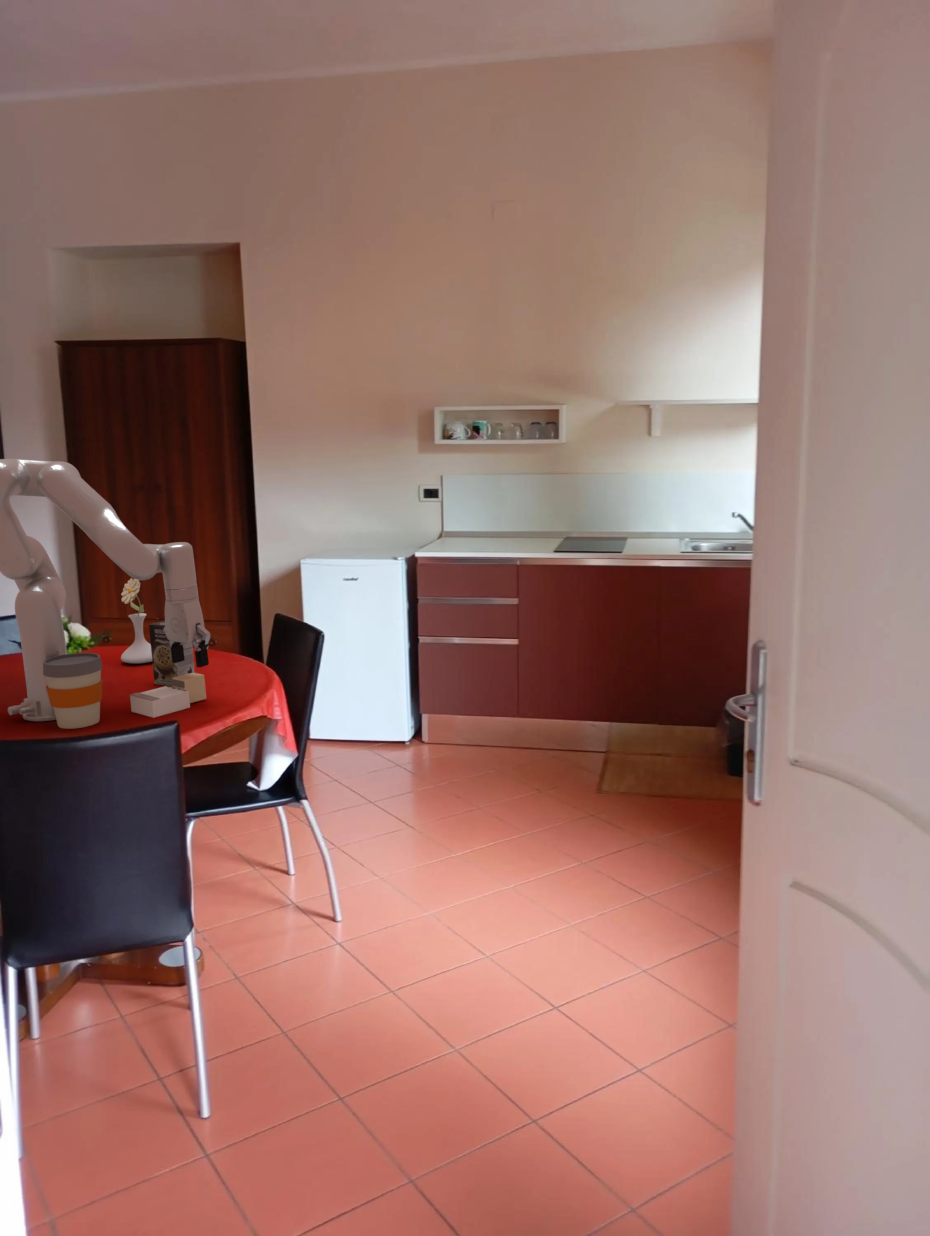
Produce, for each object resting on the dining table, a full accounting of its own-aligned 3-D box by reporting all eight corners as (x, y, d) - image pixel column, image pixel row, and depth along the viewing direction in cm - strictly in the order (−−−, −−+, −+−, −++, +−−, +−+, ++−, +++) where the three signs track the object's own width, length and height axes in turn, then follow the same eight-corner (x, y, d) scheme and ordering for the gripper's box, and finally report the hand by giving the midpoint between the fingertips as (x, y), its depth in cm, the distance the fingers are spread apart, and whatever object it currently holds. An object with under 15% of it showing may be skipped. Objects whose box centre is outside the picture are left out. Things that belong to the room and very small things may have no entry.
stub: (185, 704, 237) (183, 680, 236) (174, 701, 240) (172, 677, 239) (206, 698, 242) (204, 674, 241) (195, 696, 245) (193, 672, 244)
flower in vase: (119, 660, 288) (110, 575, 283) (159, 655, 293) (151, 571, 288) (124, 669, 276) (115, 581, 272) (166, 664, 281) (158, 577, 276)
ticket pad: (153, 717, 228) (151, 700, 227) (131, 711, 234) (129, 694, 233) (190, 707, 236) (188, 690, 235) (168, 701, 241) (166, 685, 241)
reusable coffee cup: (89, 731, 219) (82, 665, 216) (37, 730, 221) (29, 665, 219) (118, 715, 231) (111, 652, 228) (69, 714, 234) (62, 652, 231)
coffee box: (153, 684, 259) (147, 624, 256) (171, 678, 264) (165, 619, 261) (179, 687, 255) (173, 626, 252) (196, 681, 260) (191, 621, 257)
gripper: (147, 595, 239) (156, 663, 242) (190, 599, 228) (199, 671, 231) (174, 589, 244) (182, 657, 248) (217, 593, 233) (225, 664, 237)
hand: (190, 664), depth 239 cm, fingers open, 9 cm apart
